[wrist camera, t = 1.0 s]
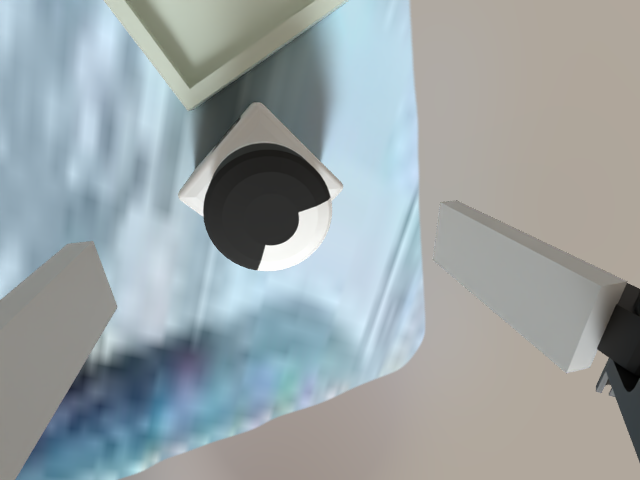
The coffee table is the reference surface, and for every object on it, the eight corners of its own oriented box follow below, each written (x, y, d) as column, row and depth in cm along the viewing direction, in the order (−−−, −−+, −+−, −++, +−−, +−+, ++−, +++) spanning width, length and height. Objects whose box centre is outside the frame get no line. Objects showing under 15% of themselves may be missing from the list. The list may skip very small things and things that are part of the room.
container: (192, 172, 26) (151, 229, 14) (254, 99, 25) (263, 97, 13) (264, 228, 29) (277, 312, 18) (321, 166, 28) (376, 212, 16)
